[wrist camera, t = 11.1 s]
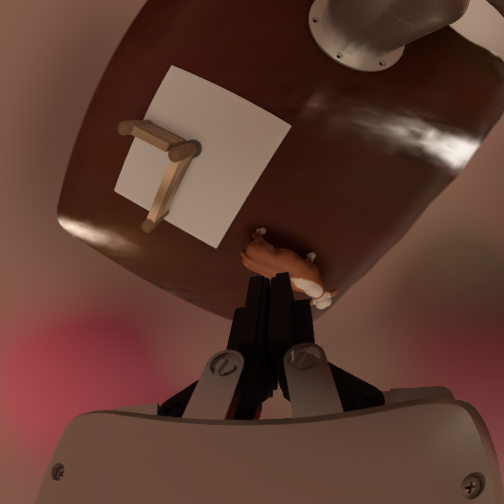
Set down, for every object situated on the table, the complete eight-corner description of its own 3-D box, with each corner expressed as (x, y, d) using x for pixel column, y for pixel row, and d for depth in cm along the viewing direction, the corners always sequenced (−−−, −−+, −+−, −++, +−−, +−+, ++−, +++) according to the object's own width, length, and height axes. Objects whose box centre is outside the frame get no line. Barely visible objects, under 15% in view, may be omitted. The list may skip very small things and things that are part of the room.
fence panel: (189, 140, 32) (171, 144, 26) (200, 146, 32) (185, 151, 27) (157, 212, 36) (138, 229, 31) (167, 218, 37) (149, 235, 31)
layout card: (172, 65, 28) (171, 65, 28) (291, 125, 31) (291, 125, 31) (115, 190, 36) (114, 190, 36) (216, 247, 39) (216, 248, 38)
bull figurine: (318, 287, 41) (326, 322, 33) (239, 241, 38) (230, 271, 31) (337, 265, 39) (349, 298, 31) (256, 215, 37) (251, 241, 29)
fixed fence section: (145, 117, 31) (121, 118, 25) (186, 138, 32) (168, 142, 26) (140, 128, 32) (115, 131, 26) (180, 149, 33) (161, 155, 27)
